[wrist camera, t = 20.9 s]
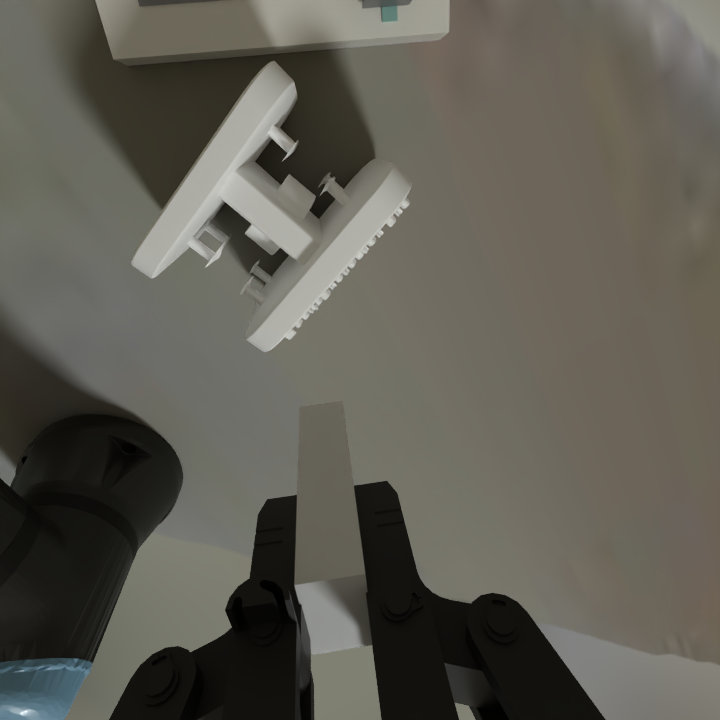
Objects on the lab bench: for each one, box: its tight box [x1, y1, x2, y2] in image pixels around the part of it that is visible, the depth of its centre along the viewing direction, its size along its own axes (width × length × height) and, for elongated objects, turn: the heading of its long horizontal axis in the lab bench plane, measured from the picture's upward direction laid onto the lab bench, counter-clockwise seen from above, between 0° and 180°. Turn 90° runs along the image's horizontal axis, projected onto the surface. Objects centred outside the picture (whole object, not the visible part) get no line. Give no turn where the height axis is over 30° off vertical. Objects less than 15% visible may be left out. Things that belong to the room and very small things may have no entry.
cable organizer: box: [131, 61, 412, 352], centre depth 29 cm, size 15×11×12 cm
